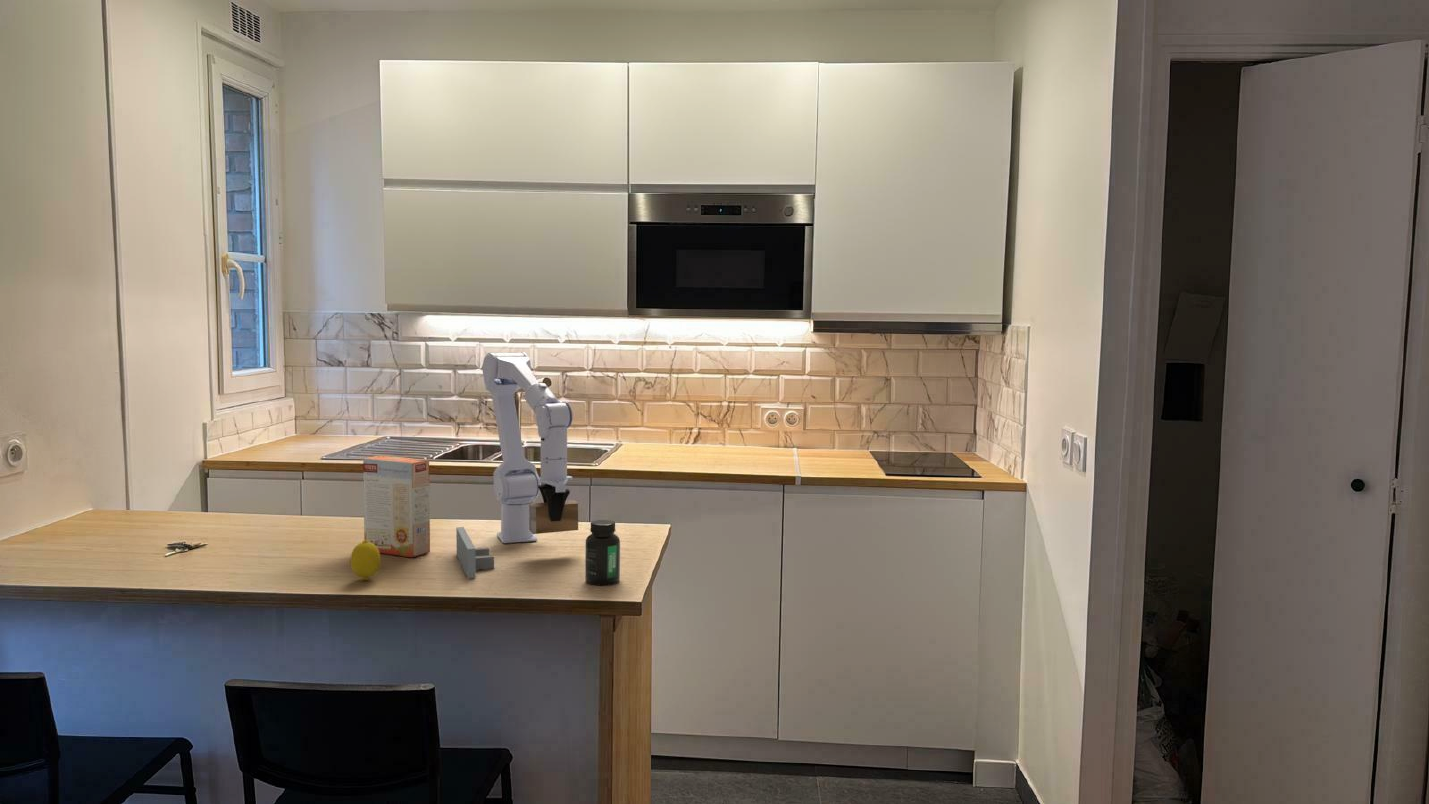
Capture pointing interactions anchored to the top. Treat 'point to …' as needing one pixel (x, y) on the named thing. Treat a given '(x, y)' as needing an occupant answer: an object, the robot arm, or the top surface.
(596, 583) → the supplement bottle
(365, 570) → the lemon
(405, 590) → the top surface
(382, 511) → the cracker box
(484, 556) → the grey plank with pegs
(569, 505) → the block
